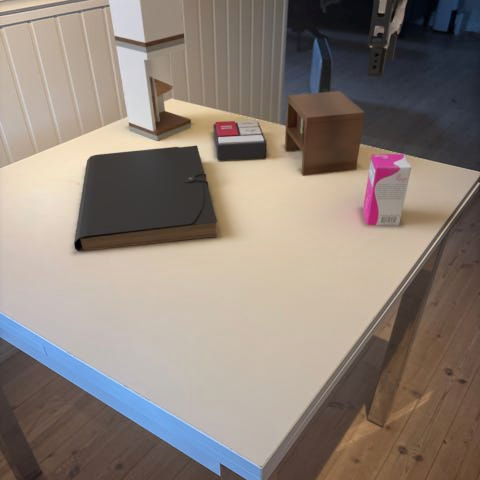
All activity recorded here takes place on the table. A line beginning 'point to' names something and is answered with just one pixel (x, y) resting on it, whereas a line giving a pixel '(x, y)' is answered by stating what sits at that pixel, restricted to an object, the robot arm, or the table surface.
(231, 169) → the table surface
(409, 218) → the table surface
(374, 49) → the robot arm
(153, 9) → the white tower
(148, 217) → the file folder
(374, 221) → the supplement box
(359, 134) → the shelf
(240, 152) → the dark grey flat box
